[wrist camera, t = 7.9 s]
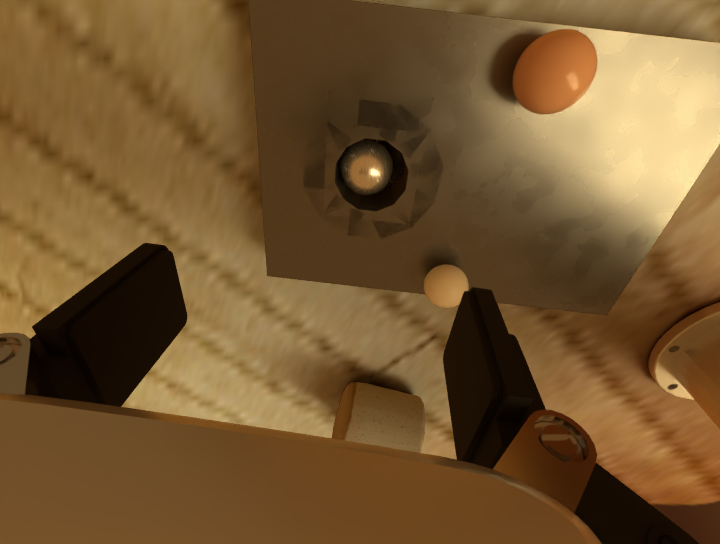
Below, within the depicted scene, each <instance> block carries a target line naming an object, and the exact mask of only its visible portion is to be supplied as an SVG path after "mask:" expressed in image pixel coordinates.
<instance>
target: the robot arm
mask: <svg viewBox="0 0 720 544" xmlns="http://www.w3.org/2000/svg"><path fill="white" fill-rule="evenodd" d="M186 322H187V312H186V307H185V303H184V299H183V295H182V290H181V286H180V282H179V277H178V273H177V269H176V265H175V260H174V256H173V253H172V252H171V251H169V250H168V248H167V247H166V246H164V245H158V244H150V243H144V244H142V245H141V246H140V247H138V248H137V249H135V250H134V251H133V252H131V253H130V254H129V255H127V256H126V257H125V258H123V259H122V260H121V261H119V262H118V263H117V264H115V265H114V266H113V267H111V268H110V269H109V270H107V271H106V272H105V273H103V274H102V275H101V276H99V277H98V278H97V279H95V280H94V281H93V282H91V283H90V284H89V285H87V286H86V287H85V288H83V289H82V290H81V291H79V292H78V293H76V294H75V295H74V296H72V297H71V298H70V299H68V300H67V301H66V302H64V303H63V304H62V305H60V306H59V307H58V308H56V309H55V310H54V311H52V312H51V313H50V314H48V315H47V316H46V317H44V318H43V319H42V320H40V321H39V322H38V323H36V324H35V325H34V326H32V328H33V329H34V331H35V333H36V335H35V336H34V337H32V338H31V339H30V338H28V337H27V336H26V335H24V334H20V333H3V334H0V544H699V543H698V542H697V541H696V540H694V539H693V538H692V537H691V536H690V535H689V534H688V533H686V532H685V531H684V530H682V529H681V528H680V527H678V526H677V525H676V524H675V523H673V522H672V521H671V520H670V519H668V518H667V517H666V516H664V515H663V514H662V513H660V512H659V511H658V510H657V509H655V508H654V507H653V506H651V505H650V504H649V503H648V502H646V501H645V500H644V499H642V498H641V497H640V496H639V495H637V494H636V493H635V492H633V491H632V490H631V489H629V488H628V487H627V486H626V485H624V484H623V483H622V482H620V481H619V480H618V479H617V478H615V477H614V476H613V475H611V474H610V473H609V472H608V471H606V470H605V469H604V468H602V467H601V466H600V465H598V464H597V463H596V459H597V452H596V448H595V445H594V443H593V441H592V439H591V438H590V436H589V435H588V434H587V432H586V431H585V430H584V429H583V428H582V427H581V426H580V425H579V424H578V423H576V422H575V421H574V420H572V419H571V418H569V417H567V416H565V415H564V414H562V413H559V412H556V411H553V410H546V409H545V406H544V404H543V402H542V399H541V397H540V394H539V392H538V389H537V387H536V384H535V382H534V380H533V377H532V375H531V372H530V370H529V367H528V365H527V362H526V360H525V357H524V355H523V353H522V350H521V348H520V345H519V343H518V340H517V339H516V337H515V336H514V335H512V334H509V333H508V331H507V328H506V325H505V323H504V320H503V318H502V315H501V313H500V310H499V307H498V305H497V302H496V300H495V297H494V294H493V292H492V290H490V289H483V288H476V287H472V288H471V289H470V291H464V293H463V295H462V298H461V302H460V305H459V308H458V311H457V314H456V317H455V320H454V323H453V326H452V329H451V332H450V335H449V338H448V341H447V344H446V347H445V351H444V356H443V364H444V371H445V378H446V385H447V392H448V399H449V406H450V413H451V421H452V428H453V435H454V442H455V449H456V456H457V460H455V459H450V458H446V457H441V456H435V455H429V454H424V453H418V452H412V451H406V450H400V449H395V448H389V447H383V446H377V445H370V444H364V443H357V442H351V441H345V440H338V439H332V438H325V437H319V436H312V435H306V434H300V433H293V432H287V431H280V430H273V429H267V428H260V427H253V426H247V425H240V424H234V423H227V422H220V421H213V420H207V419H200V418H193V417H187V416H180V415H173V414H166V413H159V412H152V411H145V410H138V409H131V408H124V407H121V406H122V405H123V403H124V402H125V401H126V400H127V398H128V397H129V396H130V394H131V393H132V392H133V391H134V389H135V388H136V387H137V386H138V384H139V383H140V382H141V380H142V379H143V378H144V377H145V375H146V374H147V373H148V372H149V370H150V369H151V368H152V366H153V365H154V364H155V363H156V361H157V360H158V359H159V358H160V356H161V355H162V354H163V353H164V351H165V350H166V349H167V347H168V346H169V345H170V344H171V342H172V341H173V340H174V339H175V337H176V336H177V335H178V333H179V332H180V331H181V330H182V328H183V327H184V326H185V324H186ZM649 371H650V374H651V376H652V377H653V379H654V380H655V381H656V383H657V384H658V385H659V386H660V387H661V388H662V389H663V390H664V391H666V392H668V393H670V394H672V395H674V396H678V397H682V398H686V399H694V400H695V401H696V402H697V403H698V404H699V405H700V407H701V408H702V409H703V410H704V411H705V412H706V413H707V415H708V416H709V417H710V418H711V419H712V420H713V422H714V423H715V424H716V425H717V426H718V427H719V428H720V302H718V303H716V304H713V305H710V306H708V307H705V308H703V309H701V310H699V311H697V312H695V313H693V314H691V315H689V316H688V317H686V318H685V319H683V320H681V321H680V322H678V323H677V324H675V325H674V326H673V327H672V328H671V329H670V330H668V331H667V332H666V333H665V334H664V335H663V336H662V337H661V338H660V340H659V341H658V342H657V343H656V345H655V347H654V348H653V350H652V352H651V354H650V358H649Z"/></svg>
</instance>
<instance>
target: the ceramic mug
mask: <svg viewBox="0 0 720 544" xmlns="http://www.w3.org/2000/svg"><path fill="white" fill-rule="evenodd" d="M424 435H425V409H424V404H423V402H422V399H421V398H420V397H418V396H416V395H411V394H407V393H403V392H399V391H396V390H392V389H387V388H383V387H379V386H375V385H372V384H368V383H363V382H352V383H350V384H348V385H347V386H346V388H345V390H344V392H343V395H342V397H341V400H340V403H339V407H338V410H337V414H336V418H335V422H334V427H333V433H332V439H338V440H345V441H351V442H357V443H364V444H370V445H377V446H383V447H389V448H395V449H400V450H406V451H412V452H418V453H421V450H422V445H423V440H424Z"/></svg>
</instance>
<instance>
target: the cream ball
mask: <svg viewBox="0 0 720 544" xmlns="http://www.w3.org/2000/svg"><path fill="white" fill-rule="evenodd" d="M468 288H469V284H468V279H467V277H466V275H465V274H464V273H463V271H462V270H460V269H459V268H458V267H456V266H453V265H448V264H444V265H439V266H436V267H435V268H433V269H432V270H431V271H430V272H429V273H428V274H427V276H426V278H425V281H424V291H425V294H426V296H427V298H428V299H429V300H430V301H431V302H432V303H433V304H434V305H436V306H439V307H442V308H450V307H454V306H457V305H458V304H460V302H461V298H462V295H463V293H464V291H468Z"/></svg>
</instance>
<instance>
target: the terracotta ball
mask: <svg viewBox="0 0 720 544" xmlns="http://www.w3.org/2000/svg"><path fill="white" fill-rule="evenodd" d="M597 64H598V57H597V52H596V48H595V46H594V44H593V42H592V41H591V40H590V39H589V38H588V37H587V36H586V35H585V34H583V33H581V32H579V31H577V30H572V29H558V30H554V31H551V32H548V33H546V34H544V35H542V36H540V37H539V38H537V39H536V40H535V41H533V42H532V43H531V44H530V45H529V46H528V47H527V48H526V49H525V50H524V52H523V53H522V55H521V56H520V58H519V60H518V62H517V64H516V67H515V69H514V73H513V91H514V94H515V97H516V99H517V100H518V102H519V103H520V104H521V106H523V107H524V108H525V109H526V110H528V111H530V112H533V113H536V114H543V115H546V114H554V113H558V112H561V111H563V110H565V109H567V108H569V107H571V106H572V105H574V104H575V103H576V102H577V101H579V100H580V99H581V98H582V97H583V95H584V94H585V93H586V92H587V90H588V89H589V88H590V86H591V84H592V82H593V80H594V78H595V75H596V71H597Z"/></svg>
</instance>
